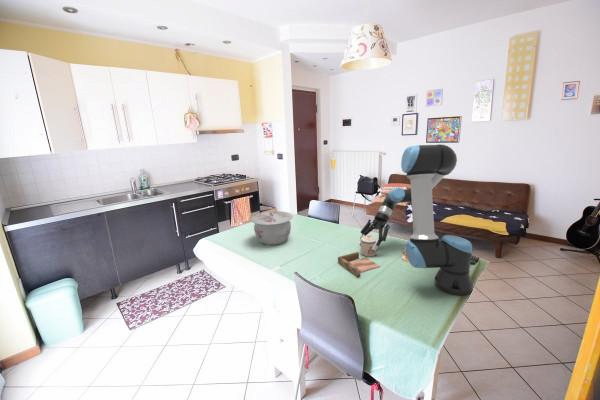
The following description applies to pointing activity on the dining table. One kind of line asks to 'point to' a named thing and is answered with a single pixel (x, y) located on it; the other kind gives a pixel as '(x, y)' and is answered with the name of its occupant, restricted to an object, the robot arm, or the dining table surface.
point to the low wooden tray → (356, 263)
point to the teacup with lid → (368, 245)
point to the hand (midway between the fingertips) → (366, 247)
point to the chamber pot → (272, 227)
